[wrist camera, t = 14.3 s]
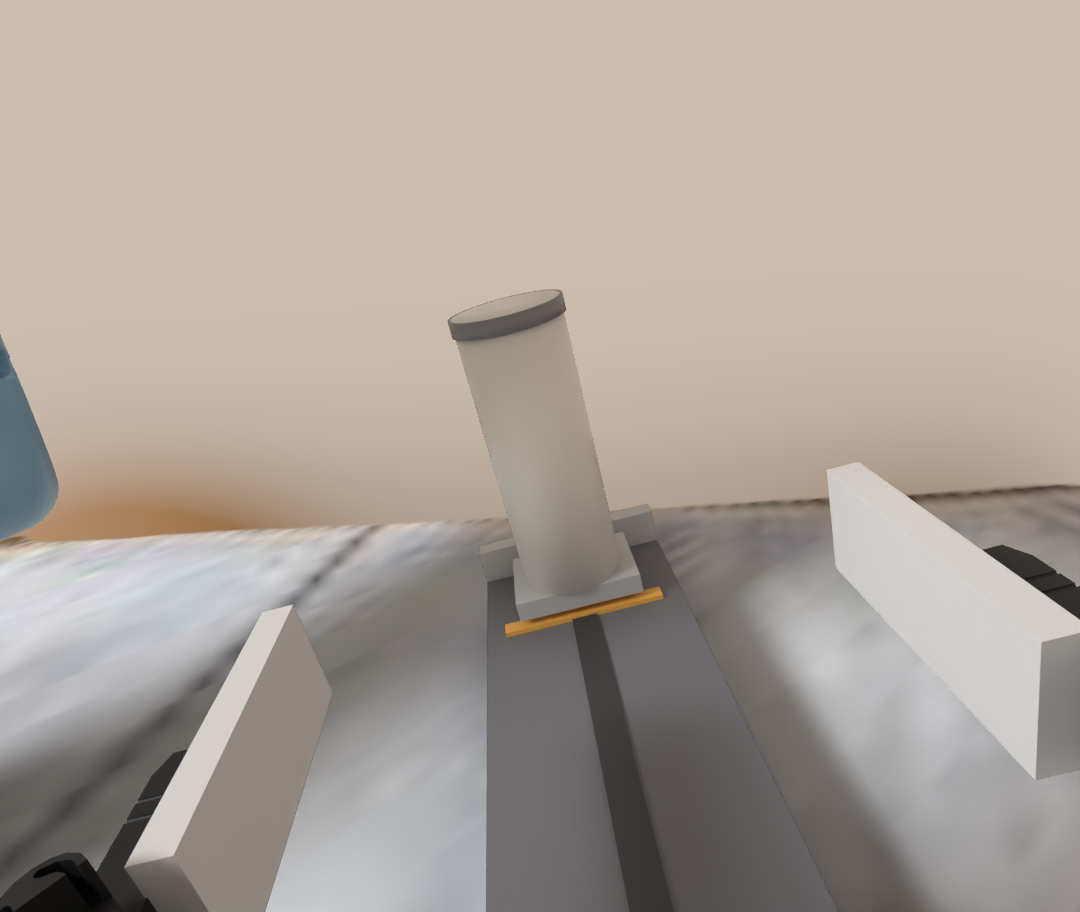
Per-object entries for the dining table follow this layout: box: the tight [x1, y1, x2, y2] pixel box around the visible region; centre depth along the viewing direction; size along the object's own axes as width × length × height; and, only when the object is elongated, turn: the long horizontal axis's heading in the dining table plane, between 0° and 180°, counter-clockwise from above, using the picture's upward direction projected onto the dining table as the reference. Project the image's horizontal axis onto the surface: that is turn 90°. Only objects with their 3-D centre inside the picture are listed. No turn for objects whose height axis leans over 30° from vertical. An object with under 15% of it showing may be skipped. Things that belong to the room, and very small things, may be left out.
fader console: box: [479, 504, 838, 912], centre depth 22 cm, size 22×8×4 cm, turn 4°
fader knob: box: [448, 290, 644, 622], centre depth 26 cm, size 4×5×12 cm
